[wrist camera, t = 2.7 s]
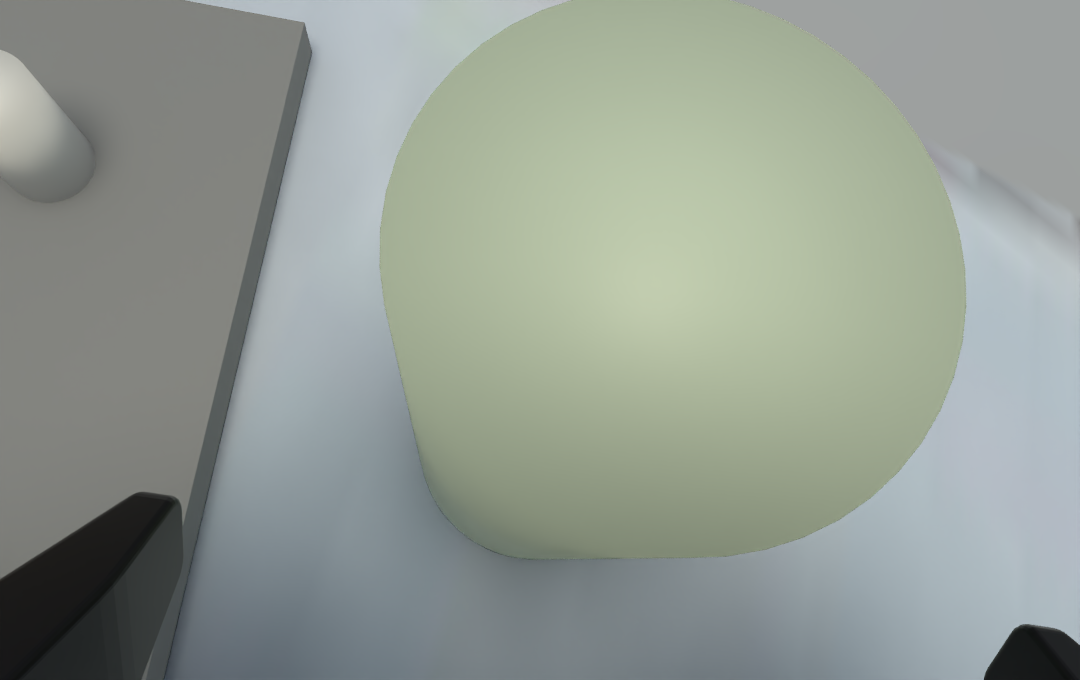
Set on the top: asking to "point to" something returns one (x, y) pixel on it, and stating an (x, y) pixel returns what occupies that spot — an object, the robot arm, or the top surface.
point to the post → (665, 284)
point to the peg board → (130, 251)
